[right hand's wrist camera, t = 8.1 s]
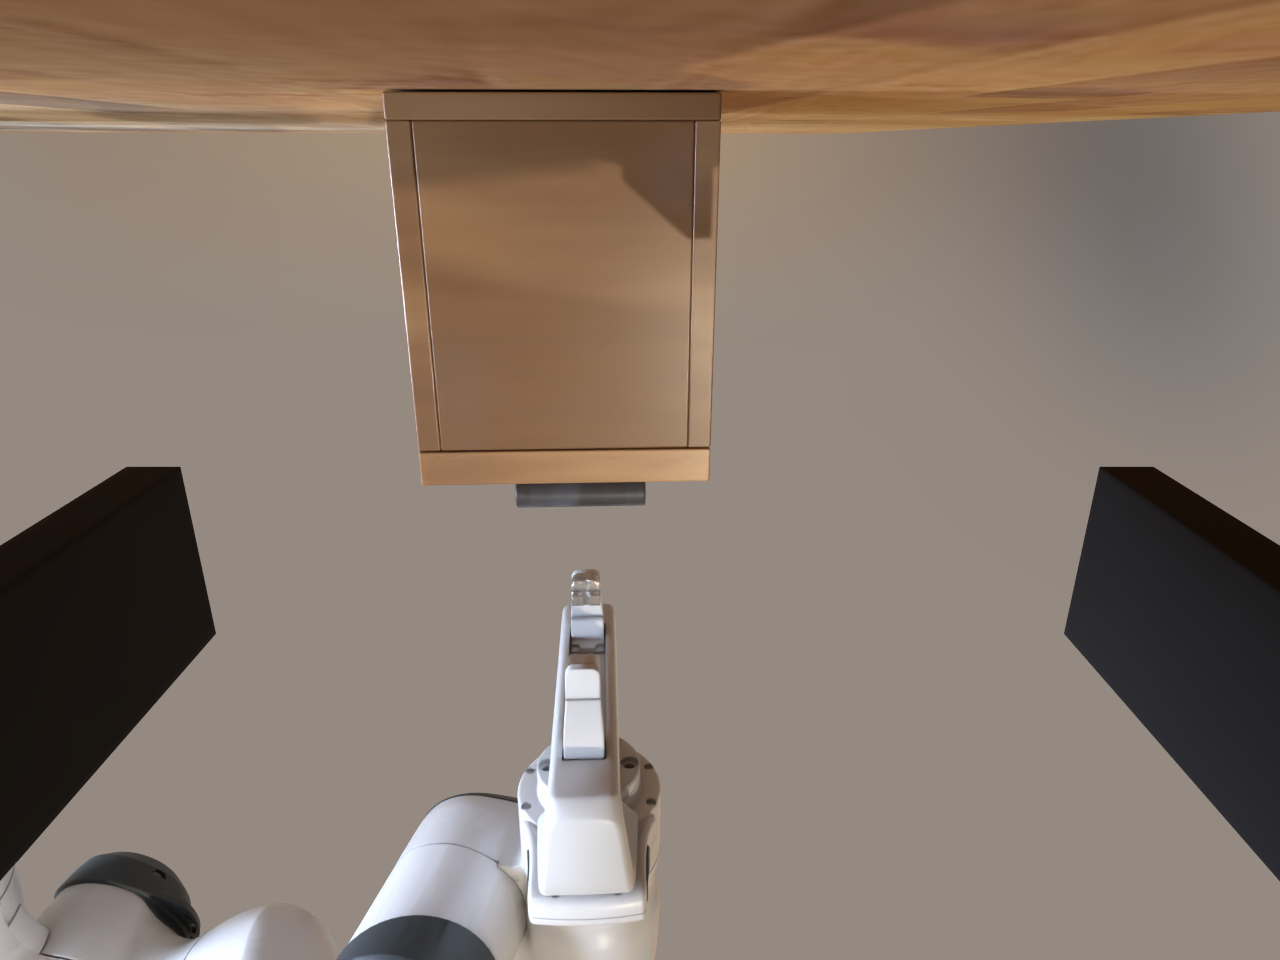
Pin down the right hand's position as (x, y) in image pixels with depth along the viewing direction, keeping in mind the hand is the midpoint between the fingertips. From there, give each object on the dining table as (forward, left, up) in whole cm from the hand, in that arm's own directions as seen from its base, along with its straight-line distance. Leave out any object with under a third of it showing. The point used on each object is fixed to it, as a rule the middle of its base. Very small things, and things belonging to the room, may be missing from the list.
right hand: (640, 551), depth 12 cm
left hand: (+9, -29, +19) cm, 36 cm away
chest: (+6, -23, -7) cm, 25 cm away
